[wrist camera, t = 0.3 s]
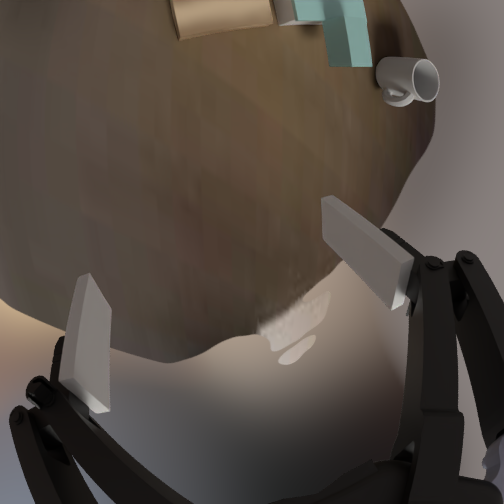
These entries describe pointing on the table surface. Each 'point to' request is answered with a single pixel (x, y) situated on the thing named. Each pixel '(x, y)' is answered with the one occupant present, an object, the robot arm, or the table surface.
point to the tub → (289, 14)
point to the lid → (339, 29)
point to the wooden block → (218, 16)
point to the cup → (407, 80)
